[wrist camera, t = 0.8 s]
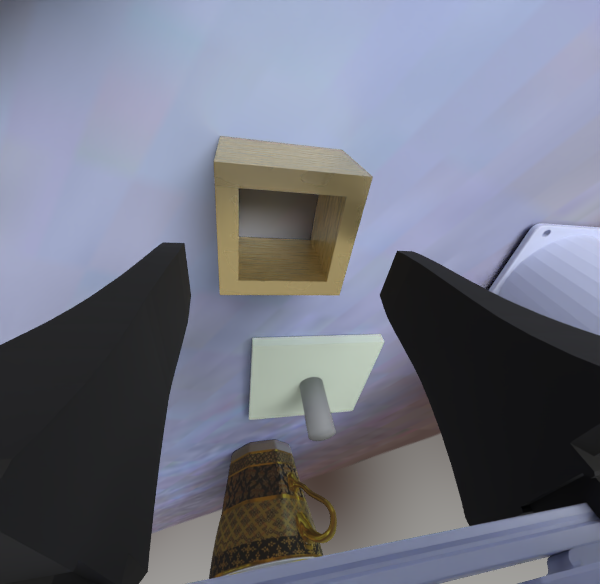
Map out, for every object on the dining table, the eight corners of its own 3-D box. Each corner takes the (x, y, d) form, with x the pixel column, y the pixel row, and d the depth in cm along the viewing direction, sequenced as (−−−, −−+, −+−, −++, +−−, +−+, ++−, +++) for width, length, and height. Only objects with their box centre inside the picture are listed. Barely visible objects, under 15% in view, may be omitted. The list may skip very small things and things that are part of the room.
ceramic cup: (261, 477, 37) (266, 586, 29) (196, 462, 31) (182, 592, 24) (341, 434, 33) (372, 548, 25) (284, 408, 27) (301, 544, 20)
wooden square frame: (342, 150, 14) (372, 176, 11) (321, 252, 17) (339, 295, 14) (219, 136, 12) (213, 161, 9) (223, 249, 16) (219, 294, 13)
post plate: (380, 334, 23) (409, 390, 19) (350, 403, 29) (367, 456, 25) (252, 337, 21) (255, 401, 17) (248, 411, 27) (250, 470, 23)
